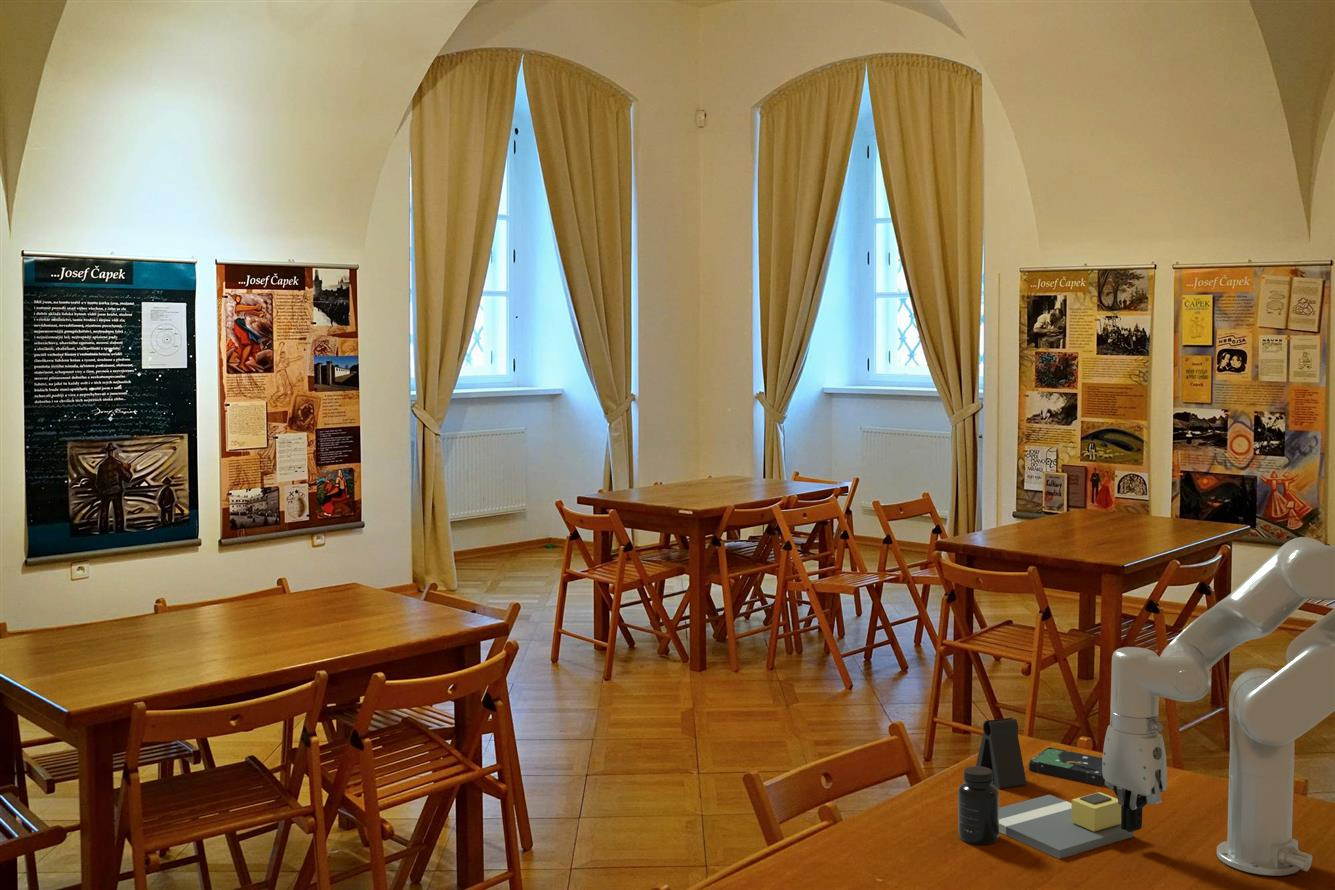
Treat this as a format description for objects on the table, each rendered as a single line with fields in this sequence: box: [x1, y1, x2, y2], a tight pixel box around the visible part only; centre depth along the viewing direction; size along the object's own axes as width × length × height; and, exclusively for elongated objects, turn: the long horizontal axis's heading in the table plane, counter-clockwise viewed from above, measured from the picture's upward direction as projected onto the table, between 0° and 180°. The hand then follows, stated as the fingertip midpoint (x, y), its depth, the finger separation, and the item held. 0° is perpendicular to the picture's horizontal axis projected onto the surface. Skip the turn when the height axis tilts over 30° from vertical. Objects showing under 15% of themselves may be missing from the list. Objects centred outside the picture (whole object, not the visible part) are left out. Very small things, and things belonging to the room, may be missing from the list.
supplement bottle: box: [957, 765, 1000, 846], centre depth 218 cm, size 7×7×12 cm
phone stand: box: [975, 717, 1028, 790], centre depth 246 cm, size 9×6×12 cm, turn 18°
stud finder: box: [1071, 791, 1121, 831], centre depth 219 cm, size 5×7×4 cm
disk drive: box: [1028, 747, 1105, 787], centre depth 251 cm, size 10×3×15 cm
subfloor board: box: [999, 794, 1135, 860], centre depth 222 cm, size 19×18×2 cm
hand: (1131, 828), depth 213 cm, fingers closed
